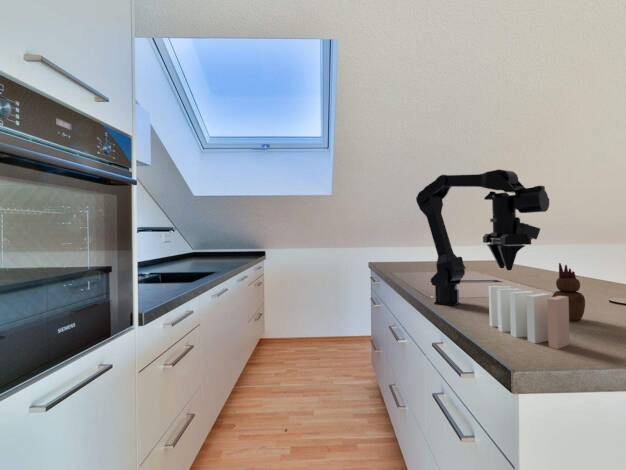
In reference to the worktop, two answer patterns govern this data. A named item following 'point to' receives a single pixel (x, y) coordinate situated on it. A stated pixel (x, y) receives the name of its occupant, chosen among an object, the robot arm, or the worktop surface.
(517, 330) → the domino
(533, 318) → the domino
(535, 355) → the worktop surface
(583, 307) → the wooden figurine
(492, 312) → the domino
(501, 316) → the domino
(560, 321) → the domino
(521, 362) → the worktop surface
